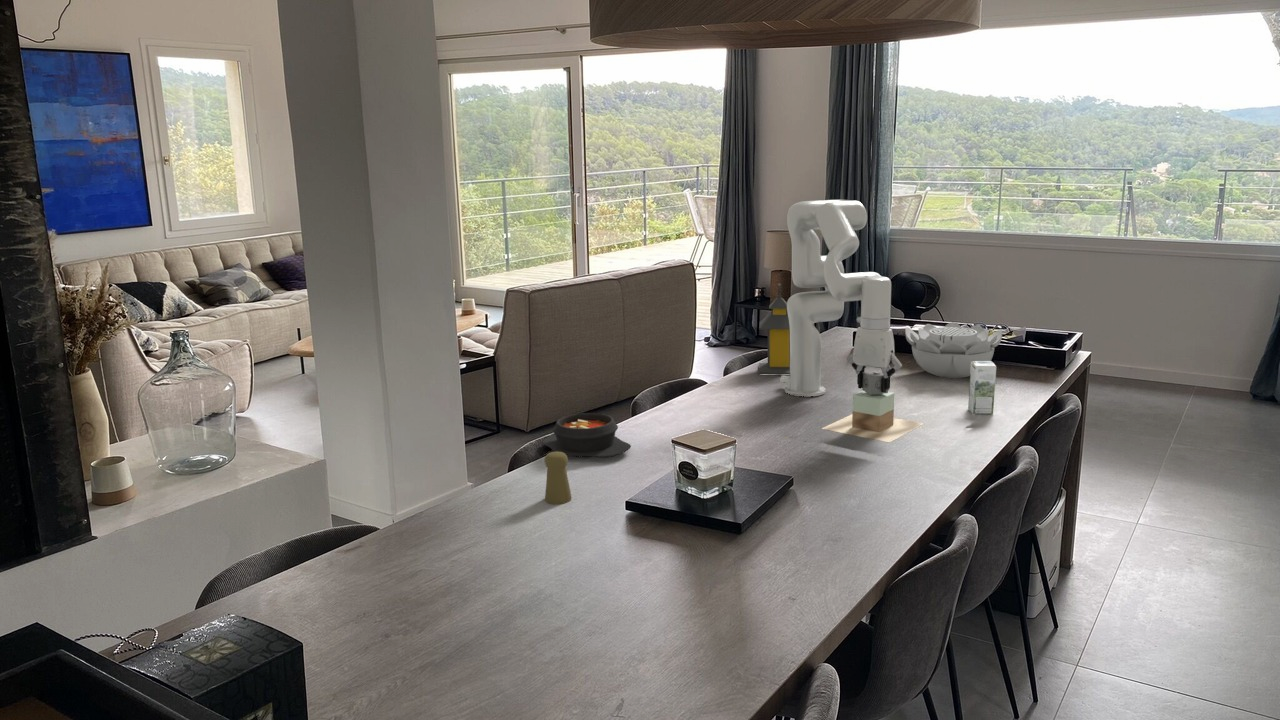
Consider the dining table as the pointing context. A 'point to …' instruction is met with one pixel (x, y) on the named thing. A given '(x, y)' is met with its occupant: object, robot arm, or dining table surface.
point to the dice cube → (872, 382)
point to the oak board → (886, 435)
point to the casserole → (586, 436)
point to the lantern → (777, 338)
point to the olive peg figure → (557, 479)
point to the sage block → (873, 403)
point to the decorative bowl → (951, 348)
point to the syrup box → (982, 387)
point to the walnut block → (872, 421)
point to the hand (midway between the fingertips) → (873, 388)
